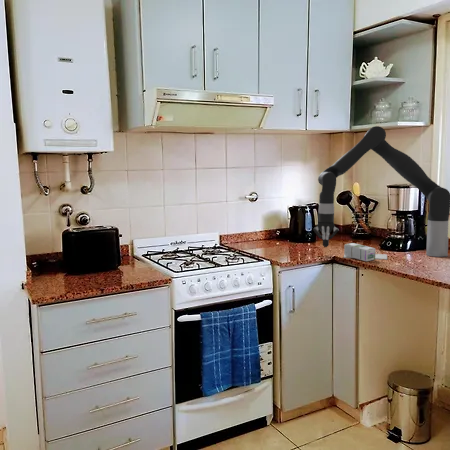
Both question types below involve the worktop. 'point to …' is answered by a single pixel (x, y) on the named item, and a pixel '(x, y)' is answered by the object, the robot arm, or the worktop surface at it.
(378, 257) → the grey mat
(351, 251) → the syrup box
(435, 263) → the worktop surface
